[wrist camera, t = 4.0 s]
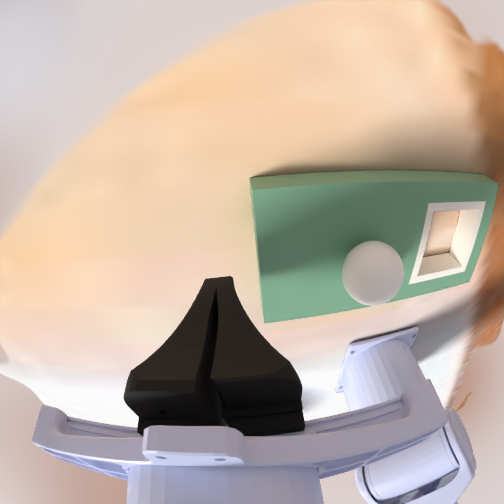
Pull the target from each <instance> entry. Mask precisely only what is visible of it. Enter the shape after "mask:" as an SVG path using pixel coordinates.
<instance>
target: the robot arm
mask: <svg viewBox="0 0 504 504" xmlns="http://www.w3.org/2000/svg"><path fill="white" fill-rule="evenodd" d="M418 333H419V328H418V327H414V328H410V329H407V330H403V331H400V332H396V333H392V334H388V335H384V336H380V337H376V338H372V339H368V340H364V341H359V342H355V343H352V344H350V345H349V346H348V349H347V352H346V356H345V359H344V363H343V366H342V369H341V372H340V376H339V379H338V382H337V385H336V388H335V392H336V393H341V392H344V394H345V398H346V401H347V404H348V407H349V411H350V412H346V413H342V414H338V415H334V416H329V417H324V418H320V419H314V420H309V421H304V417H303V412H302V409H303V408H302V402H301V396H302V384H301V381H300V379H299V377H298V375H297V373H296V371H295V369H294V368H293V366H292V365H291V363H290V361H288V360H287V359H286V358H285V357H283V356H282V355H281V354H280V353H279V352H278V351H277V350H276V349H275V348H273V347H272V346H271V345H270V343H269V342H268V341H267V340H266V339H265V338H264V337H263V336H262V335H261V334H260V332H259V331H258V330H257V328H256V327H255V326H254V324H253V323H252V322H251V320H250V319H249V317H248V315H247V314H246V312H245V310H244V309H243V307H242V305H241V303H240V301H239V298H238V296H237V294H236V291H235V288H234V282H233V278H232V277H231V276H228V277H218V278H209V279H205V281H204V283H203V285H202V287H201V289H200V291H199V293H198V295H197V297H196V299H195V301H194V302H193V304H192V306H191V308H190V309H189V311H188V313H187V314H186V316H185V317H184V319H183V320H182V322H181V323H180V324H179V326H178V327H177V329H176V330H175V331H174V332H173V334H172V335H171V336H170V337H169V338H168V339H167V340H166V342H165V343H164V344H163V345H162V346H161V347H160V348H159V349H158V350H157V351H156V352H154V353H153V354H152V355H151V356H150V357H149V358H148V359H146V360H145V361H144V362H142V363H141V364H140V365H138V366H137V367H136V368H134V369H133V370H131V372H130V375H129V377H128V380H127V384H126V388H125V393H124V401H125V403H126V404H127V405H128V406H129V407H130V408H131V409H132V410H133V411H134V412H135V413H136V414H137V415H138V416H139V422H138V428H134V427H125V426H117V425H110V424H104V423H98V422H93V421H87V420H82V419H78V418H73V417H69V416H67V415H66V414H65V413H64V412H63V411H61V410H60V409H58V408H55V407H51V406H47V405H42V407H41V410H40V413H39V417H38V420H37V424H36V427H35V431H34V435H33V439H32V443H33V444H35V445H36V446H38V447H39V448H41V449H43V450H44V451H46V452H48V453H49V454H51V455H53V456H54V457H56V458H58V459H60V460H62V461H65V462H68V463H71V464H74V465H77V466H80V467H83V468H86V469H89V470H92V471H96V472H99V473H102V474H106V475H110V476H113V477H117V478H121V479H125V480H128V489H127V504H324V502H323V497H322V491H321V486H320V481H319V479H322V478H326V477H330V476H334V475H337V474H341V473H344V472H347V471H350V470H354V469H355V479H356V484H357V487H358V490H359V492H360V494H361V495H362V497H363V498H364V499H365V500H366V501H367V502H368V504H458V503H457V500H458V499H459V498H460V496H461V495H462V494H463V492H464V491H465V490H466V488H467V487H468V485H469V484H470V483H471V481H472V479H473V478H474V476H475V469H476V460H475V457H474V455H473V450H472V446H471V443H470V440H469V437H468V434H467V432H466V429H465V427H464V425H463V423H462V421H461V419H460V417H459V415H458V414H457V412H456V411H455V410H454V409H449V408H448V407H446V408H443V406H442V404H441V402H440V399H439V397H438V395H437V393H436V391H435V389H434V387H433V385H432V382H431V380H430V379H427V380H426V379H425V377H424V375H423V373H422V371H421V369H420V367H419V365H418V363H417V361H416V359H415V357H414V355H413V353H412V351H411V347H412V345H413V343H414V341H415V339H416V337H417V335H418ZM227 426H228V427H227Z"/></svg>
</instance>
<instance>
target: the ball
mask: <svg viewBox="0 0 504 504" xmlns="http://www.w3.org/2000/svg"><path fill="white" fill-rule="evenodd" d="M403 278H404V267H403V263H402V260H401V258H400V256H399V254H398V253H397V252H396V250H394V249H393V248H392V247H391V246H390V245H388V244H386V243H384V242H381V241H366V242H363V243H361V244H359V245H357V246H356V247H354V248H353V249H352V250H351V251H350V252H349V253H348V255H347V257H346V258H345V261H344V263H343V268H342V280H343V284H344V287H345V289H346V291H347V292H348V294H349V295H350V296H351V297H352V298H353V299H354V300H356V301H357V302H359V303H361V304H364V305H369V306H376V305H381V304H384V303H386V302H388V301H389V300H391V299H392V298H393V297H394V296H395V295H396V294H397V293H398V291H399V289H400V288H401V285H402V282H403Z"/></svg>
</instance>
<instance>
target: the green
mask: <svg viewBox="0 0 504 504" xmlns="http://www.w3.org/2000/svg"><path fill="white" fill-rule="evenodd" d="M498 186H499V184H498V183H497V182H495V181H493V180H492V179H490V178H488V177H486V176H485V175H483V174H476V173H462V172H445V171H418V170H362V171H333V172H314V173H299V174H286V175H274V176H263V177H253V178H250V188H251V198H252V209H253V219H254V229H255V240H256V250H257V261H258V271H259V282H260V293H261V303H262V310H263V317H264V323H270V322H278V321H286V320H293V319H300V318H306V317H313V316H319V315H325V314H331V313H337V312H343V311H348V310H354V309H359V308H364V307H369V305H364V304H361V303H359V302H357V301H356V300H354V299H353V298H352V297H351V296H350V295H349V294H348V292H347V291H346V289H345V287H344V284H343V280H342V268H343V263H344V261H345V258H346V257H347V255H348V253H349V252H350V251H351V250H352V249H353V248H354V247H356V246H357V245H359V244H361V243H363V242H366V241H381V242H384V243H386V244H388V245H390V246H391V247H392V248H393V249H394V250H396V252H397V253H398V254H399V256H400V258H401V260H402V263H403V267H404V278H403V282H402V285H401V288H400V289H399V291H398V293H397V294H396V295H395V296H394V297H393V298H392V299H391V300H389V301H388V302H393V301H397V300H402V299H406V298H410V297H415V296H419V295H423V294H427V293H431V292H435V291H438V290H442V289H446V288H450V287H453V286H457V285H460V284H464V283H467V282H469V281H470V279H471V276H472V274H473V271H474V269H475V266H476V263H477V261H478V258H479V255H480V252H481V249H482V246H483V243H484V240H485V237H486V234H487V231H488V227H489V224H490V220H491V216H492V213H493V209H494V205H495V200H496V196H497V191H498ZM453 210H460V214H459V219H458V223H457V227H456V230H455V234H454V238H453V241H452V245H451V248H450V251H449V253H445V254H439V255H434V256H428V257H423V255H424V251H425V247H426V243H427V239H428V235H429V231H430V227H431V222H432V218H433V213H434V212H437V211H453ZM388 302H386V303H388Z"/></svg>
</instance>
